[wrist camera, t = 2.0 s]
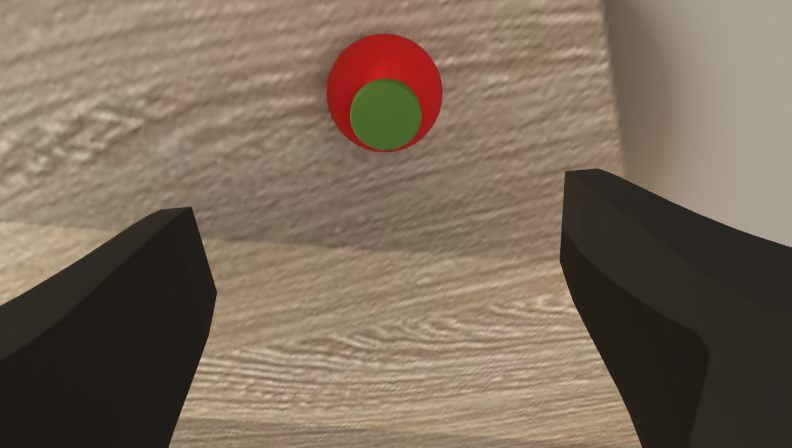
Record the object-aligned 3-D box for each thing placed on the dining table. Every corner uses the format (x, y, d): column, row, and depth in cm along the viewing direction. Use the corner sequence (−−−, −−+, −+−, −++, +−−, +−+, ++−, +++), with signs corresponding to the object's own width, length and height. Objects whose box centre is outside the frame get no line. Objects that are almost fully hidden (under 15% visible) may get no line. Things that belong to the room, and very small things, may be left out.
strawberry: (433, 17, 17) (447, 47, 14) (439, 122, 19) (452, 170, 16) (323, 28, 17) (312, 60, 14) (338, 132, 19) (331, 180, 16)
